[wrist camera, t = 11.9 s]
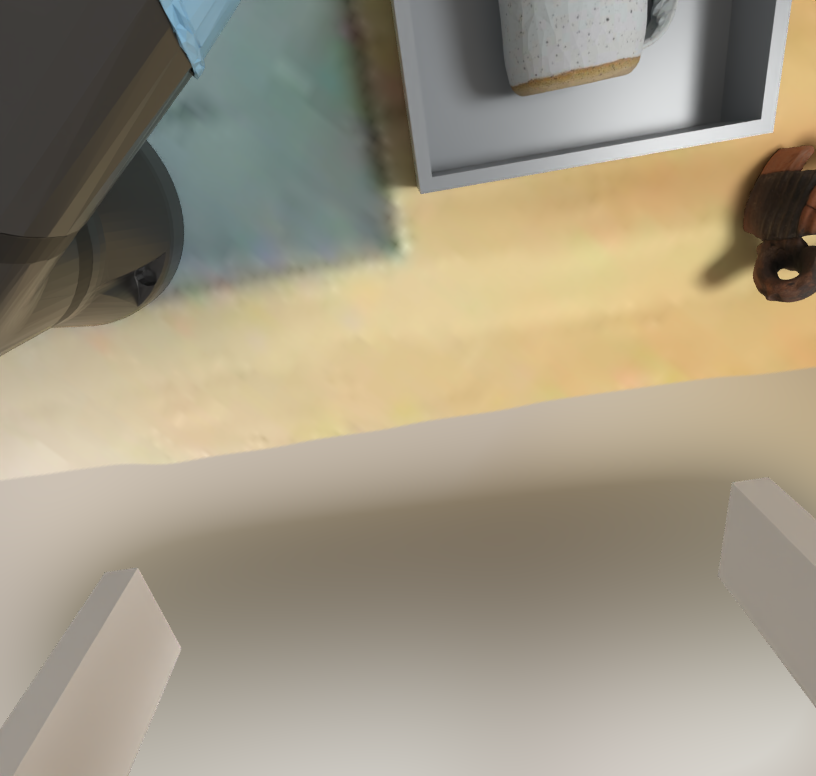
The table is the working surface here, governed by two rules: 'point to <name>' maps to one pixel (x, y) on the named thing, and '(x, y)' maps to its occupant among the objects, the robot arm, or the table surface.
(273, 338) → the table surface
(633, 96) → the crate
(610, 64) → the ceramic mug
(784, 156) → the brown clay vessel
